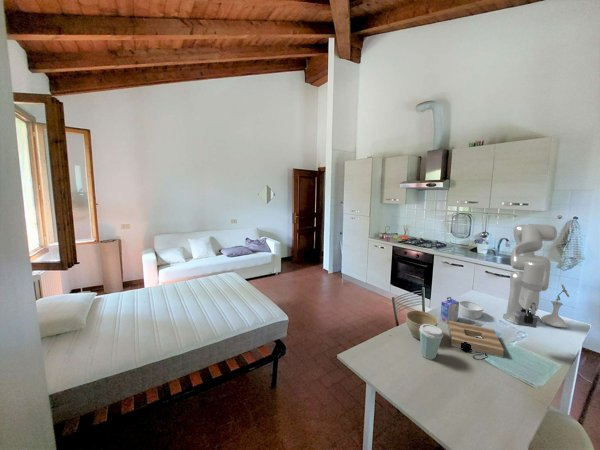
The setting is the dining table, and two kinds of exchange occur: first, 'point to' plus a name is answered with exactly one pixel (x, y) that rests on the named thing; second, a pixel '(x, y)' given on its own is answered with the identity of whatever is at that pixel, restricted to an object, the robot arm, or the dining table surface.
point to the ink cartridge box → (449, 310)
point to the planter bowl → (419, 321)
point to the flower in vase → (555, 313)
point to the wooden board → (484, 345)
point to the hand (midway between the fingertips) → (526, 319)
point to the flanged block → (520, 319)
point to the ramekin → (470, 309)
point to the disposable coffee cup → (430, 340)
